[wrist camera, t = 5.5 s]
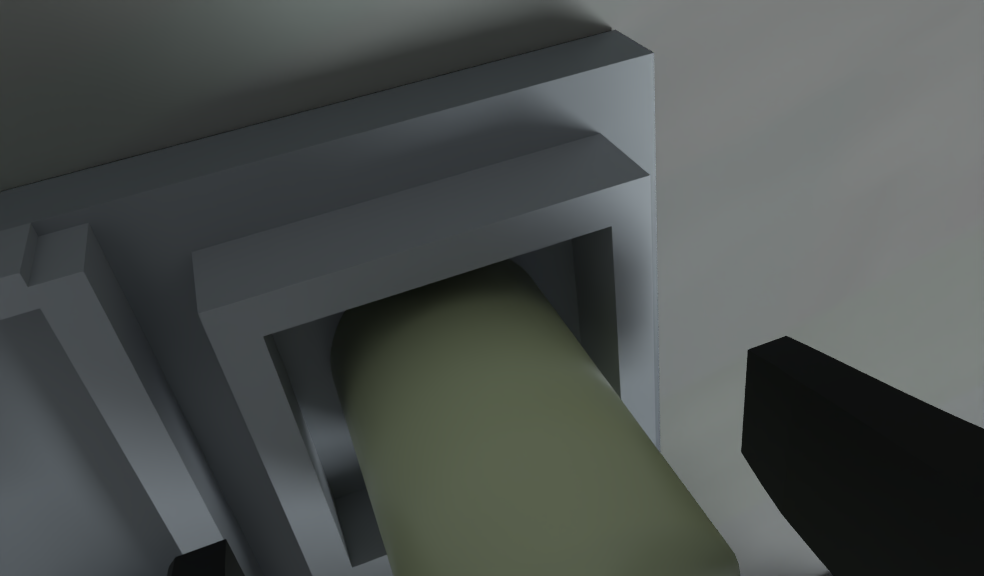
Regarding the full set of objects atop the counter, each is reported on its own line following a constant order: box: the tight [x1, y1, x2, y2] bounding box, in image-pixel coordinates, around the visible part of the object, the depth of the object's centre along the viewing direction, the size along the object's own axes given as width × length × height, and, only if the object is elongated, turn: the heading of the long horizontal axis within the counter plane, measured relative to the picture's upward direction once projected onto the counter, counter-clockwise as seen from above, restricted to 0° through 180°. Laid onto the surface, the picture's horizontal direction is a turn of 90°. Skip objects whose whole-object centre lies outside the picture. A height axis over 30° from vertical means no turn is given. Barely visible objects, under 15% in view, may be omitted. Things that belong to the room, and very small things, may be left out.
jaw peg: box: [331, 259, 740, 576], centre depth 11 cm, size 4×4×6 cm
